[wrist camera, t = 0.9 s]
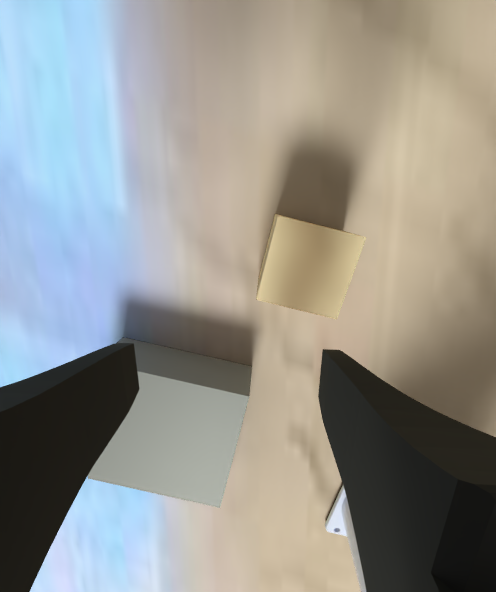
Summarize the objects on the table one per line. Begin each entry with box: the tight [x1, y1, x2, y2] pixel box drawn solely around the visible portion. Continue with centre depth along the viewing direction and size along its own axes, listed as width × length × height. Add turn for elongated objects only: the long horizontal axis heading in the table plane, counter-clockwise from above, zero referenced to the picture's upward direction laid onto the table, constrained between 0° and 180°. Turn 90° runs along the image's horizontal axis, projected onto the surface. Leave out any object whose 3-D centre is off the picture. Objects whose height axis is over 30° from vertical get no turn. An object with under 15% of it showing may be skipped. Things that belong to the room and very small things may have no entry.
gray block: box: [88, 337, 252, 508], centre depth 21 cm, size 10×10×4 cm
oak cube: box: [256, 214, 366, 319], centre depth 17 cm, size 4×4×4 cm
